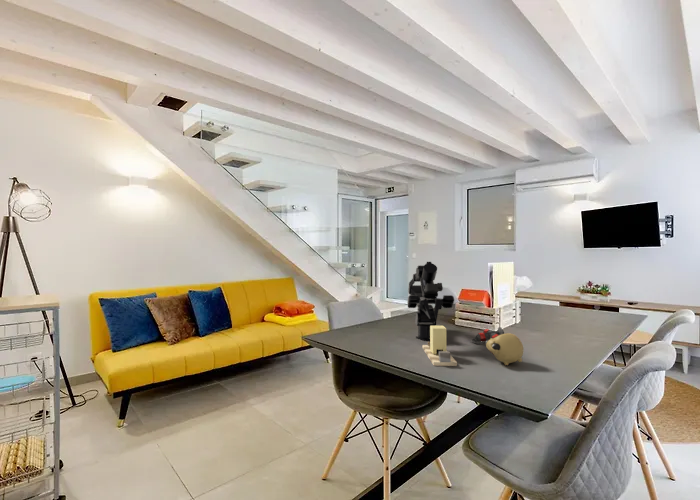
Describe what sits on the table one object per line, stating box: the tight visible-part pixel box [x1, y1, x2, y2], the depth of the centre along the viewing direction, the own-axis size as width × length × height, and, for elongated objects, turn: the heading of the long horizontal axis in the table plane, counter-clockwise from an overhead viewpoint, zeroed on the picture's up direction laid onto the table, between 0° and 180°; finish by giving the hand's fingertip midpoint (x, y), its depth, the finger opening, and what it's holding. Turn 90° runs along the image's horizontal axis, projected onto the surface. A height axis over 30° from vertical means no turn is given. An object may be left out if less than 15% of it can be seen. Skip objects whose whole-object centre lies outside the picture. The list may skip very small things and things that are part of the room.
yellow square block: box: [429, 325, 447, 354], centre depth 129 cm, size 5×5×10 cm
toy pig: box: [485, 332, 525, 366], centre depth 121 cm, size 10×12×11 cm
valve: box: [470, 326, 505, 345], centre depth 145 cm, size 6×26×15 cm
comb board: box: [422, 341, 458, 367], centre depth 129 cm, size 22×8×4 cm, turn 178°
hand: (433, 318), depth 138 cm, fingers open, 2 cm apart
